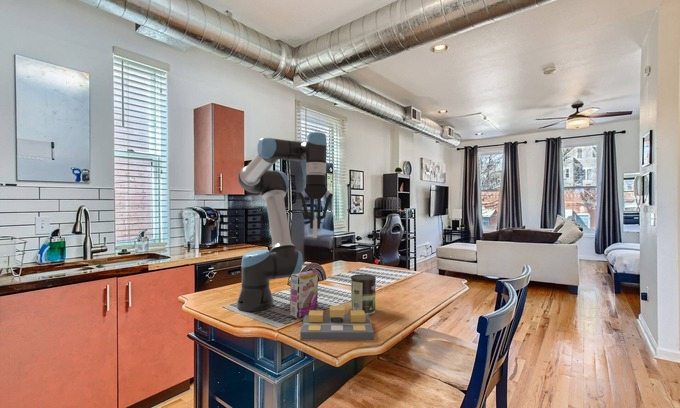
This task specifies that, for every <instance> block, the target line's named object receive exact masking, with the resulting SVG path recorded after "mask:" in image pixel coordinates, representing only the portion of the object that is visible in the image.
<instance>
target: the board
mask: <svg viewBox="0 0 680 408" xmlns="http://www.w3.org/2000/svg"><path fill="white" fill-rule="evenodd" d="M374 332H375V330H374V328H373V325H372V322H371V319H370V315H365V322H351V318H350V314H344V317H341V322H333V317H330V314H323V322H308V315H305V316H304V317H303V320H302V324H301V328H300V333H299V338H300V339H299V340H300V341H374V339H375V337H374V336H375V333H374Z"/></svg>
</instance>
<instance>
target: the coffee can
mask: <svg viewBox="0 0 680 408" xmlns="http://www.w3.org/2000/svg"><path fill="white" fill-rule="evenodd" d="M376 279H377V276H375V275H371V274H365V273H363V274H353V275H352V276H350V284H351V286H350V287H351V289H350V294H351V295H350V298H351V299H350V301H351V302H350V303H351V305H350V311H351V310H364V312H365V315H369V316H370V315H373V314H375V313H376Z"/></svg>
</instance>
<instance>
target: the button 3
mask: <svg viewBox="0 0 680 408" xmlns="http://www.w3.org/2000/svg"><path fill="white" fill-rule="evenodd" d="M349 315H350V318H351V322H365V312H364V310H351V309H350V314H349Z"/></svg>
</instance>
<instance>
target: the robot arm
mask: <svg viewBox="0 0 680 408" xmlns="http://www.w3.org/2000/svg"><path fill="white" fill-rule="evenodd" d="M327 146H328V145H327V135H326V134H325V133H323V132H319V131H318V132H316V131H315V132H314V131H312V132H311V131H310V132H308V133H307V134H306V138H305V141H296V140H290V139H289V140H288V139H279V138H274V137H273V138H272V137H261V138H260V139H259V140H258V143H257V154H255V156H254V157H253V159H251V161H250V162H249V163H248V164H247V165H246V166H243V167H242V169H240V170H239V173H238V176H237V179H238V183H239V186H240V187H241V188H243V189H244V191H246V192H248V193H251V194H261V198H262V199H263V200H264V201H265V202H266V208H267V216H268V217H267V218H268V223H269V228H270V234H271V242H272V248H270V250H269V249H257V250H252V251H248V252H247V253H244V254H243V255H242V258H241V265H240V266H241V267H240V268H241V289H240V292H239V296H238V298H237V302H236V308H237V310H240V311H243V312H258V311H264V310H268V309H271V308H272V307H273V305H274V297H273V294H272V292H271V291H272V290H271V288H270V281H272V280H279V279H287V278H288V279H289V278H290V279H291V275H292V274H297V273H302V272H301V271H302V268H303V263H304V260H303V254H302V252H301V251H300V250H298V249H297V248H296V245H295V244H294V243H293V242H292V238H291V233H290V226H289V221H288V215H287V211H286V210H287V209H286V204H285V197H286V196H287V193H288V192H289V185H290V182H289V178H288V176H287V175H286V173H285V172H283V171H280V170H270V168H271V167H272V166H273V165H274V164H275V163H276V162H277V161H278V160H283V161H295V162H298V163H305V174H306V175H305V188H304V190H303V191H302V192H299V193H298V196H299V198H300V201H301V204H302V208H303V213H304V217H305V218H306V219H308V220H309V228H310V229H311V230H312V238H313V239H316V238H318V229H319V230H320V229H321V220H323V219H326V216H327V212H328V208H329V207H328V206H329V203H330V200H331V198H332V197H333V193H331V192H329V190H328V189H327V176H326V174H327V148H328V147H327ZM325 194H326V195H325ZM306 195H307V197H308V198H309V200H310V201H309V202H310V207H309V209H310V210H308V206H307V200H306V198H305V197H306ZM323 197H326V200H325V204H324V207H323V211H321V207H322V206H321V205H322V202H321V201H322V198H323ZM315 200H317V201H316V206H317V207H316V219H315V218H314V217H315V214H314V211H315ZM321 212H322V215H321Z"/></svg>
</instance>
